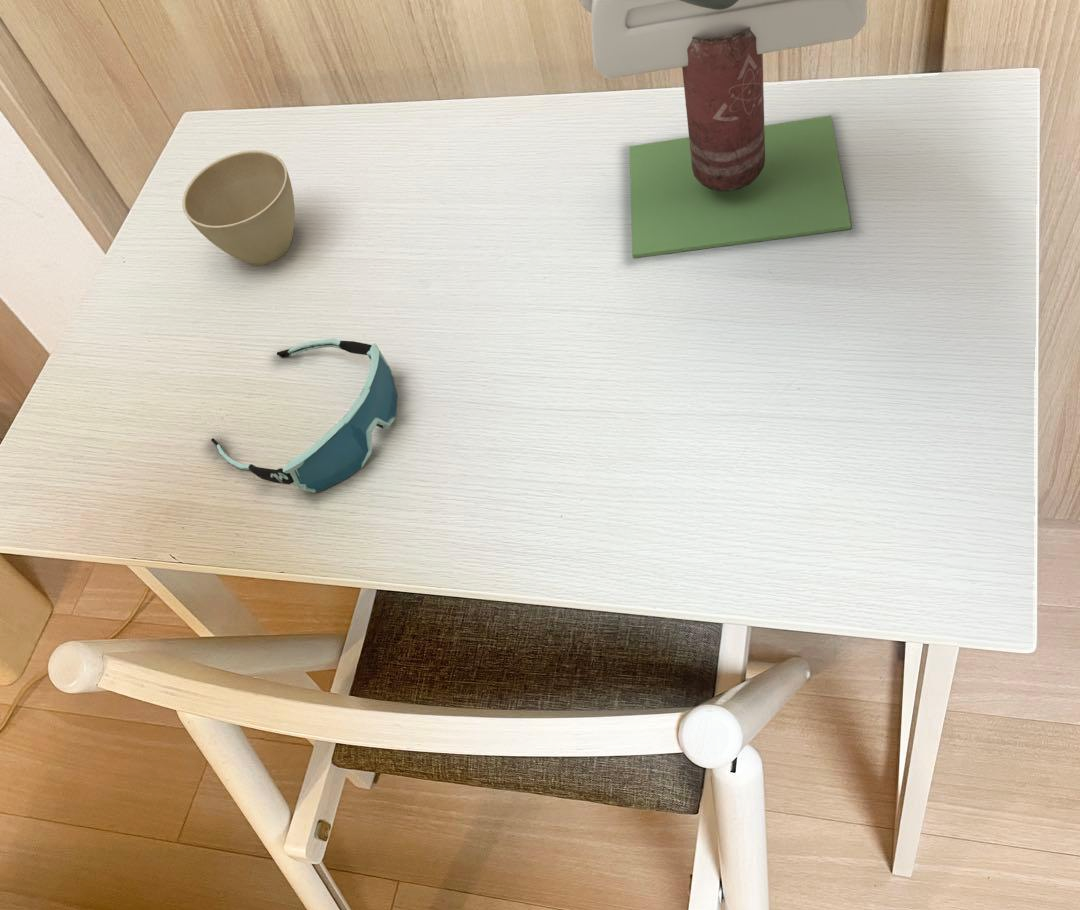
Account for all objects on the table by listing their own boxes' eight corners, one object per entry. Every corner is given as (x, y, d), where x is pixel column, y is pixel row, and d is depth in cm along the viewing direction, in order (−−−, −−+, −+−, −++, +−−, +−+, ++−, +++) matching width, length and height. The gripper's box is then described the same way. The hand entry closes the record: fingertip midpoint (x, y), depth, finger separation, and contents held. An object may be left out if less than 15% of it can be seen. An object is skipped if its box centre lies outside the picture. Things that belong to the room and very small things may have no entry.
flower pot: (236, 301, 95) (199, 243, 89) (206, 241, 101) (169, 183, 95) (331, 251, 96) (301, 190, 90) (297, 195, 102) (266, 134, 96)
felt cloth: (830, 119, 92) (831, 115, 91) (851, 229, 85) (851, 225, 84) (630, 149, 95) (629, 146, 95) (633, 258, 88) (632, 254, 88)
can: (769, 142, 89) (766, -13, 77) (760, 194, 86) (755, 40, 74) (699, 143, 91) (685, -8, 79) (687, 194, 88) (672, 44, 76)
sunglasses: (340, 515, 80) (309, 477, 76) (212, 475, 87) (177, 438, 84) (431, 379, 85) (406, 337, 81) (303, 353, 93) (274, 313, 89)
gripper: (570, -20, 71) (601, 146, 83) (878, -77, 67) (864, 105, 79) (571, -70, 74) (600, 96, 86) (865, -128, 71) (854, 54, 82)
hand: (729, 100), depth 82 cm, fingers closed, pressing on can
